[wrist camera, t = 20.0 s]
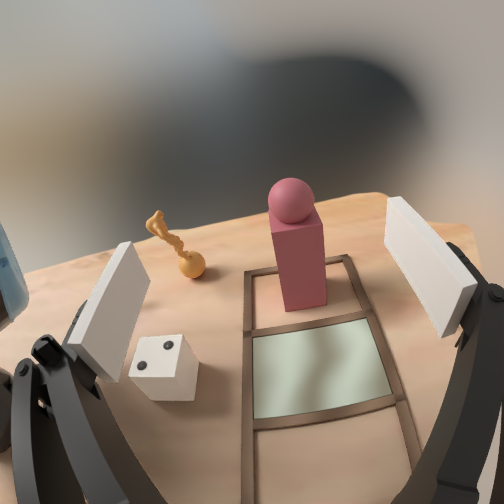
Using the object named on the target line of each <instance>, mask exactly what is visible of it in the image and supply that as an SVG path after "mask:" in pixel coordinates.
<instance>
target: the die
mask: <svg viewBox="0 0 504 504" xmlns="http://www.w3.org/2000/svg"><path fill="white" fill-rule="evenodd" d="M198 368H199V361H198V359H197V357H196V356H195V354H194V353H193V351H192V349H191V348H190V346H189V344H188V343H187V341H186V339H185V337H184V336H183V334H180V335H167V336H152V337H140V338H139V342H138V345H137V348H136V351H135V354H134V358H133V361H132V364H131V368H130V371H129V375H128V377H129V378H130V379H131V380H132V381H133V382H134V383H135V384H136V385H137V386H138V387H139V388H140V389H141V390H142V391H143V392H144V393H145V394H146V395H147V396H148V397H149V398H150V399H151V400H157V401H194V400H195V392H196V383H197V375H198Z"/></svg>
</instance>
